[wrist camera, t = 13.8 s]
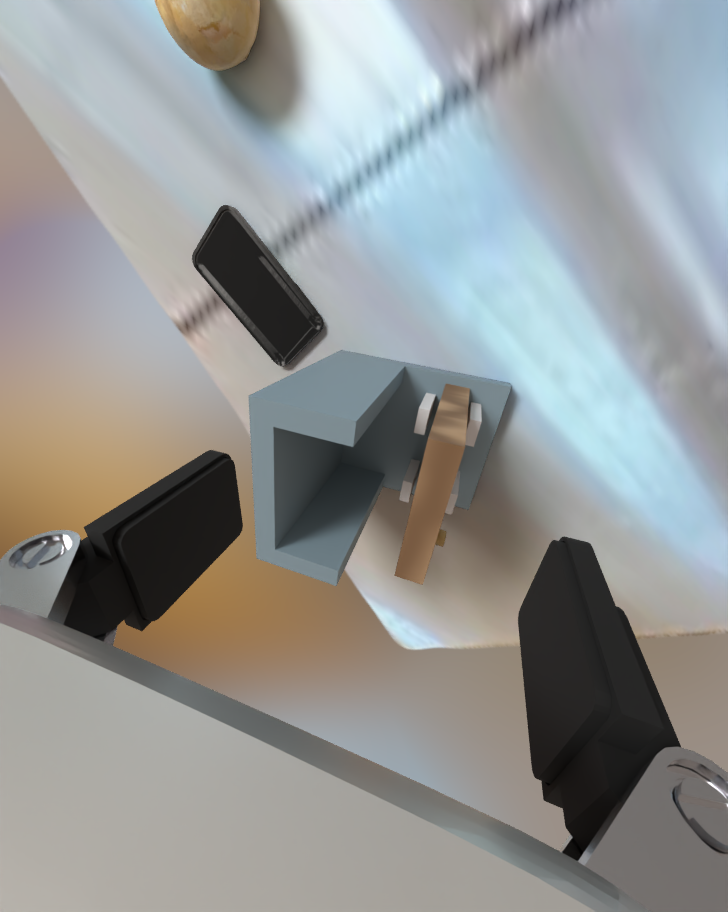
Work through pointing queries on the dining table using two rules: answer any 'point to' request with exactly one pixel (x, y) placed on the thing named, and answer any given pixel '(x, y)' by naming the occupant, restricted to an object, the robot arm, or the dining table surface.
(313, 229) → the dining table surface
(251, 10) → the onion
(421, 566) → the door
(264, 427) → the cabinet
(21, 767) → the robot arm
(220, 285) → the phone
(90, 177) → the dining table surface
